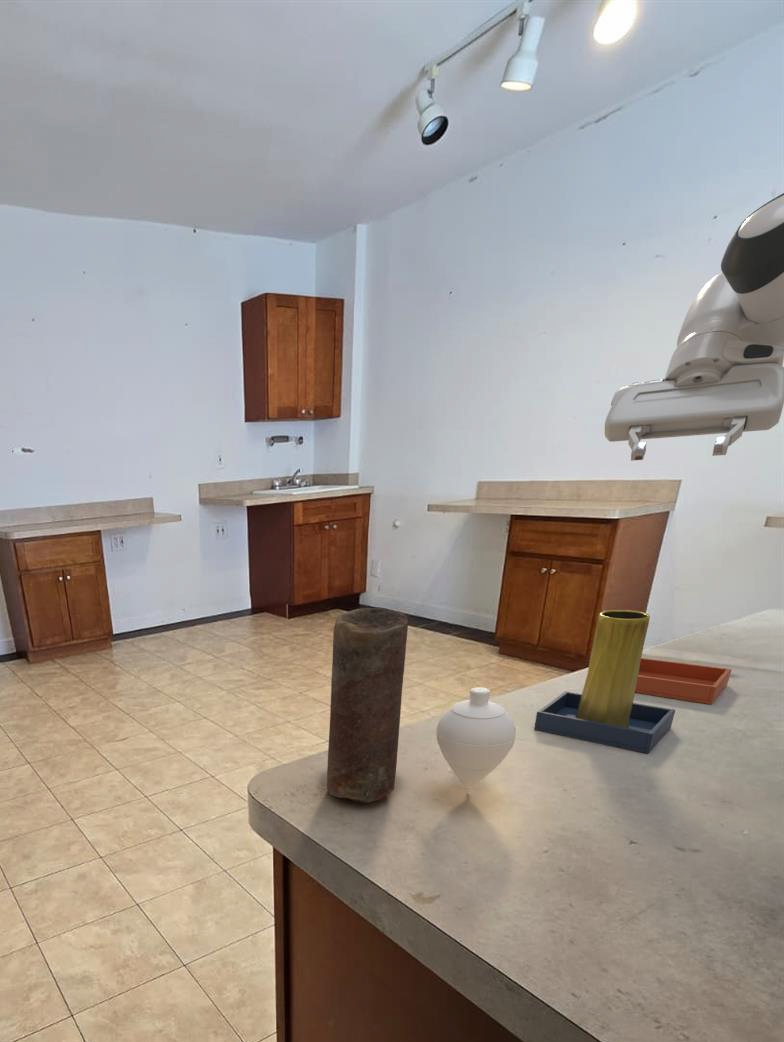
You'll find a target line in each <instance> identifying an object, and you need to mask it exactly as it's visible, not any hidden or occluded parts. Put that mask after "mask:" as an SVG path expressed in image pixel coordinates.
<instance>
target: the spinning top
mask: <svg viewBox="0 0 784 1042" xmlns="http://www.w3.org/2000/svg"><path fill="white" fill-rule="evenodd" d="M490 696H491V690H490V689H489V688H486V687H481V686H477V687H472V688H470V690H469V699H466V700H462V701H459V702H456V703H454V704H453V705H451V707H450V708H449V709H447V710H446V711H445V712H444V713H443V715H442V716H441V717H440V719H439V721H438V722H437V726H436V731H435V732H436V741H437V744H438V747H439V750H440V752H441V753H442V756H443V758H444V760H445V761H446V763H447V764H448V766H449V768H450V769H451V770H452V773H454V775H455V776H456V777H457V778H458V780H459V781H460V783H462V785H463V786H465V787H466V792H465V793H466V795H467V794H468V795H470V794H471V788H473V787H475V786H477V785H478V784H479V783H481V782H483V780H484V779H485V778H486V777H488V776H489V775H490V774H491V773H492V772H493V771H495V770H496V769H497V767H498V766H499V765H500V764H501V763H502V762H503V761H504V760H505V758H506V757H507V756H508V755H509V753H510V752H511V750H512V749H513V746H514V745H515V741H516V737H517V730H516V725H515V723H514V720H513V718H512V717H511V715H510V714H509V713H508V712H507V711H506V708H505V707H503V706H502V705H500V704H499V703H496V702H493V701H491V700H489V699H490Z"/></svg>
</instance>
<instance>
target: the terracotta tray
mask: <svg viewBox="0 0 784 1042" xmlns="http://www.w3.org/2000/svg"><path fill="white" fill-rule="evenodd" d="M731 673H732V668H726V667H719V666H711V665H702V664H693V663H687V662H680V661H679V662H678V661H670V660H661V659H653V658H647V657H641V662H640V668H639V673H638V677H637V683H636V689H635V694H642V695H649V696H656V697H660V698H667V699H675V700H681V701H687V702H692V703H693V702H694V703H699V704H704V705H705V704H706V705H712V704H713V703H714V702H715V701H716V700H717V698H718V697H719V696H720V694H721V693H722V692H724V690H725V688H726V687H727V686H728V683H729V679H730V676H731Z"/></svg>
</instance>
